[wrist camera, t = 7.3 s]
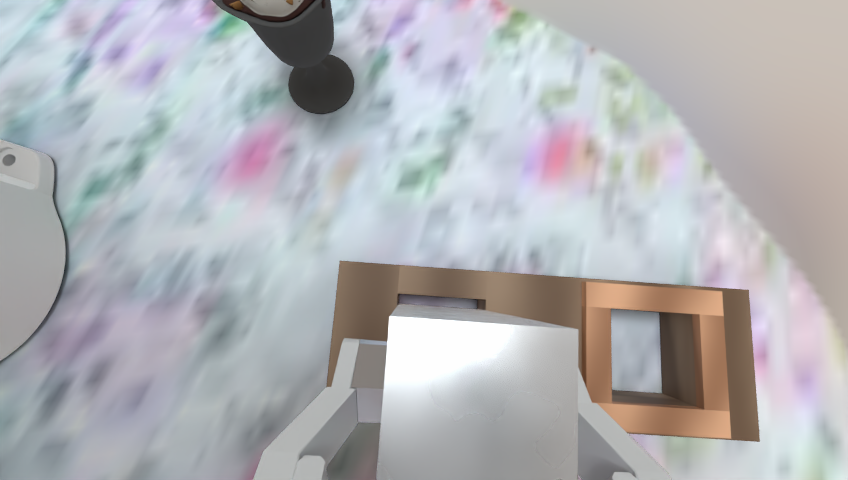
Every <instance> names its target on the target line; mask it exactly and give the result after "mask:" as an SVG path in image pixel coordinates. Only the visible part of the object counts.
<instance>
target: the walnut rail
mask: <svg viewBox="0 0 848 480" xmlns="http://www.w3.org/2000/svg"><path fill="white" fill-rule="evenodd" d="M399 294H409V295H424V296H438V297H452V298H467V299H478V301H477V309H482V310H486V311H491V312H496V313H501V314H506V315H511V316H516V317H521V318H526V319H530V320H535V321H540V322H545V323H550V324H555V325H560V326H565V327H570V328H574V329H578V368H579V370H580V373H581V375H582V378H583V381H584V383H585V386H586V388H587V391H588V394H589V396H590V399H591V401H592V403H597V404H598V405H599V406H600V407H601V408H602V409H603V410H604V411H605V412H606V413H607V414H608V415H609V416H610V417H611V418H612V419H614V420H615V421H616V422H617V423H618V424H619V425H620V426H621V427H622V428H623V429H624V430H625V431H626V432H627V433H630V434H646V435H662V436H678V437H693V438H709V439H725V440H741V441H757V442H760V439H759V425H758V411H757V398H756V384H755V370H754V357H753V343H752V330H751V316H750V302H749V290H741V289H727V288H713V287H699V286H685V285H671V284H657V283H643V282H629V281H615V280H601V279H587V278H573V277H559V276H545V275H531V274H517V273H503V272H489V271H475V270H461V269H447V268H433V267H419V266H405V265H391V264H377V263H363V262H349V261H340V264H339V274H338V283H337V292H336V302H335V311H334V321H333V330H332V339H331V349H330V358H329V368H328V377H327V386H326V387H331V386H332V382H333V378H334V374H335V369H336V365H337V361H338V357H339V353H340V349H341V345H342V342H343V340H344V338H351V339H364V340H375V341H386V342H388V330H389V318H390V315H391V314H392V313H393V311H394V310H395V309H396V307H397V306H398V305H399ZM611 309H624V310H638V311H653V312H660V334H661V363H662V392H663V394H662V393H646V392H631V391H616V390H612V368H611Z"/></svg>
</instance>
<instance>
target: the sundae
mask: <svg viewBox="0 0 848 480" xmlns="http://www.w3.org/2000/svg"><path fill="white" fill-rule="evenodd" d="M212 1H213V2H215V3H216V4H217V5H218V6H219V7H220V8H221V9H223V10H225V11H226V12H228V13H230V14H232V15H234V16H236V17H238V18H240V19H242V20H244V21H247V22H248V24H249V25H250V26H251V27H252V28H253V30H254V31H255V32H256V33H257V35H258V36H259V37H260V38H261V40H262V41H263V42H264V43H265V45H266V46H267V47H268V48H269V49H270V50H271V51H272V52H273V53H274V54H275V55H276V56H277V57H278V58H279V59H280V60H281V61H283V62H284V63H286V64H288V65H290V66H294V69H293V70H292V72H291V74H290V78H289V84H288V86H289V91H290V94H291V97H292V99H293V100H294V101H295V103H296V104H297V105H298V106H299V107H301V108H303V109H304V110H306V111H309V112H312V113H320V114H324V113H329V112H332V111H335V110H337V109H339V108H340V107H342V106H343V105H344V104H345V103H346V102H347V101H348V99H349V98H350V96H351V94H352V92H353V88H354V78H353V75H352V72H351V70H350V68H349V67H348V65H347V64H346V63H345V62H344V61H342V60H341V59H339V58H337V57H335V56H333V55H329V52H330V51H331V49H332V45H333V41H334V26H333V16H332V9H331V2H330V0H212Z"/></svg>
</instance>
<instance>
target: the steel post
mask: <svg viewBox="0 0 848 480" xmlns="http://www.w3.org/2000/svg"><path fill="white" fill-rule="evenodd" d="M376 480H578V329H574V328H570V327H565V326H560V325H555V324H550V323H545V322H540V321H535V320H530V319H526V318H521V317H516V316H511V315H506V314H501V313H496V312H491V311H486V310H482V309H468V308H454V307H439V306H425V305H411V304H399V305H398V306H397V307H396V309H395V310H394V311H393V313H392V314H391V315H390V318H389V330H388V342H387V354H386V366H385V378H384V390H383V403H382V415H381V427H380V439H379V451H378V463H377V475H376Z"/></svg>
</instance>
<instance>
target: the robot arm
mask: <svg viewBox="0 0 848 480" xmlns="http://www.w3.org/2000/svg"><path fill="white" fill-rule="evenodd" d="M53 186H54V164H53V161H52V159H51V158H50V157H49V156H48V155H47V154H45V153H42V152H39V151H36V150H33V149H30V148H27V147H24V146H21V145H18V144H15V143H12V142H9V141H5V140H2V139H0V361H1V360H2V359H4V358H5V357H7V356H8V355H10V354H11V353H12V352H14V351H15V350H16V349H17V348H18V347H20V346H21V345H22V344H23V343H24V342H25V341H26V340H27V339H28V338H29V337H30V336H31V335H32V334H33V333H34V331H35V330H36V329H37V328H38V326H39V325H40V324H41V323H42V321H43V320H44V318H45V317H46V315H47V314H48V312H49V310H50V308H51V307H52V305H53V303H54V301H55V298H56V296H57V294H58V291H59V288H60V285H61V282H62V278H63V273H64V267H65V256H66V250H65V239H64V233H63V229H62V225H61V222H60V220H59V217H58V214H57V212H56V209H55V206H54V203H53V197H52V195H53ZM386 354H387V342H386V341H375V340H364V339H351V338H344V340H343V342H342V345H341V349H340V353H339V357H338V361H337V365H336V369H335V374H334V378H333V382H332V386H331V387H326V388H325V389H324V390H323V391H322V392H321V393H320V394H319V395H318V396H317V397H316V398H315V399H314V400H313V401H312V402H311V403H310V404H309V405H308V406H307V407H306V408H305V409H304V410H303V411H302V412H301V413H300V414H299V415H298V416H297V417H296V418H295V419H294V420H293V421H292V422H291V423H290V424H289V425H288V426H287V427H286V428H285V429H284V430H283V432H282V433H281V434H280V435H279V436H278V437H277V438H276V439H275V440H274V441H273V442H272V443H271V444H270V445H269V446H268V447H267V448H266V449H265V450H264V451H263V453H262V456H261V459H260V462H259V465H258V467H257V470H256V473H255V476H254V479H253V480H328V475H327V469H326V467H327V465H328V464H329V463H330V461H331V460H332V459H333V457H334V456H335V454H336V453H337V452H338V450H339V449H340V448H341V446H342V445H343V443H344V442H345V441H346V439H347V438H348V437H349V435H350V434H351V433H352V431H353V430H354V428H355V427H356V426H357V424H358V423H357V422H366V423H381V415H382V403H383V390H384V378H385V366H386ZM578 475H579V476H580V477H581V479H582V480H672V479H671V477H670V475H669V473H668V472H667V471H666V470H665V469H664V468H663V467H662V466H661V465H660V464H659V463H657V462H656V461H655V460H654V459H653V458H652V457H651V456H650V455H649V454H648V453H647V452H646V451H645V450H644V449H643V448H642V447H641V446H640V445H639V444H638V443H637V442H636V441H635V440H634V439H633V438H632V437H631V436H630V435H629V434H628V433H627V432H626V431H625V430H624V429H623V428H622V427H621V426H620V425H619V424H618V423H617V422H616V421H615V420H614V419H612V418H611V417H610V416H609V415H608V414H607V413H606V412H605V411H604V410H603V409H602V408H601V407H600V406H599V405H598V404H597V403H592V401H591V399H590V396H589V394H588V391H587V388H586V386H585V383H584V381H583V378H582V375H581V373H580V370H579V368H578Z"/></svg>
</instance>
